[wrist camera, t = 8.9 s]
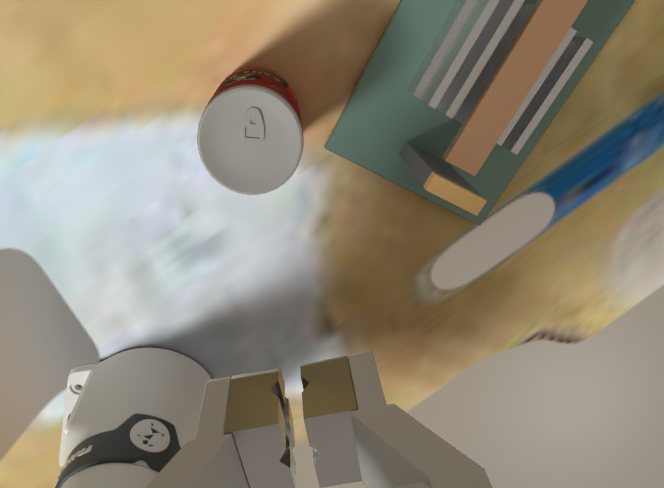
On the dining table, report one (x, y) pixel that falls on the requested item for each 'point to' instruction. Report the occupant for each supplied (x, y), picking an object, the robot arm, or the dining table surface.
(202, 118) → the canned food
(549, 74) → the heatsink
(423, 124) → the board
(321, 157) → the dining table surface
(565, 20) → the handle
